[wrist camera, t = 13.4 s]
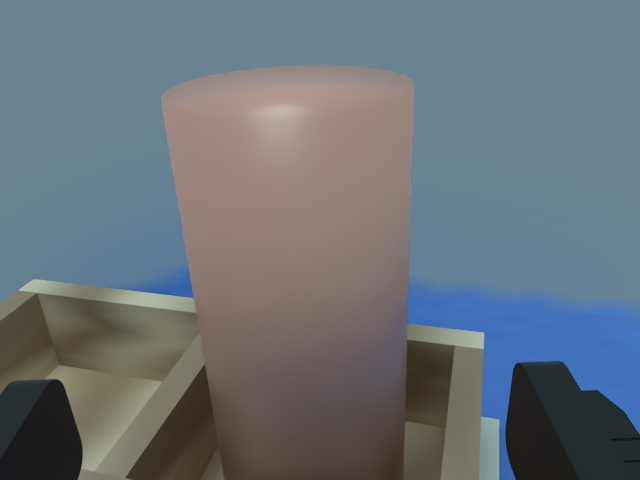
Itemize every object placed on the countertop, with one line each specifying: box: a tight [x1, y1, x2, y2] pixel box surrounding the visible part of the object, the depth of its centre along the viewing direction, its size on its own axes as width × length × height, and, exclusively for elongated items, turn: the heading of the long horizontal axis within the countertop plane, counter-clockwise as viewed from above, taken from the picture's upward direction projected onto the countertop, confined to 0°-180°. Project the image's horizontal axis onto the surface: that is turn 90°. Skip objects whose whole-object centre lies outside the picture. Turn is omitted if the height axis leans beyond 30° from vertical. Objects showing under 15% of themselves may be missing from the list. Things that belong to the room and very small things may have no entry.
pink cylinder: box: [161, 65, 414, 480], centre depth 17 cm, size 6×6×14 cm
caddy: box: [0, 279, 484, 480], centre depth 21 cm, size 20×10×5 cm, turn 75°
